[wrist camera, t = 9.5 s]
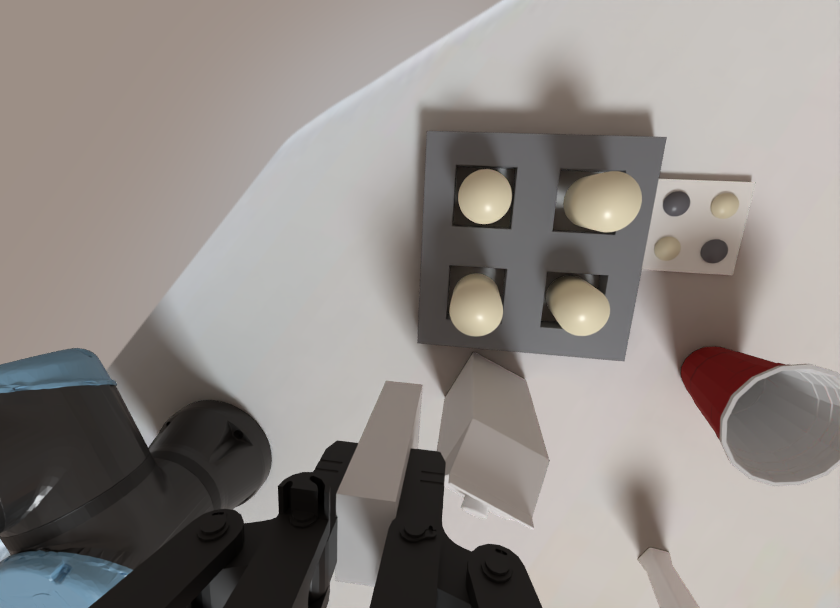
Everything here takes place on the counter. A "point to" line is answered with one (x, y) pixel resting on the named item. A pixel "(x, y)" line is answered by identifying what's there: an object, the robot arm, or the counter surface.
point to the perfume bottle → (666, 580)
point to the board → (533, 238)
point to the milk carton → (492, 443)
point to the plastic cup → (768, 413)
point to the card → (697, 226)
